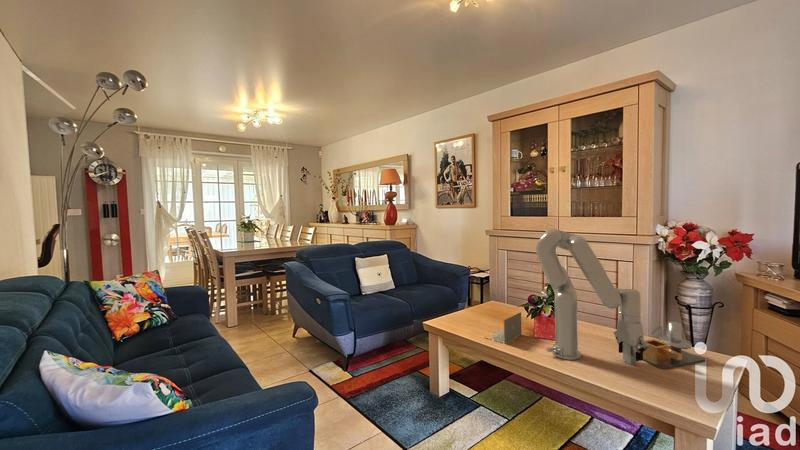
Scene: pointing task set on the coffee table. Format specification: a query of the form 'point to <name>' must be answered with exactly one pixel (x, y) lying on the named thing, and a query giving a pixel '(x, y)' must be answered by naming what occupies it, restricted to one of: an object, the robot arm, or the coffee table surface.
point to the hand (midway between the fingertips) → (630, 356)
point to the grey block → (629, 354)
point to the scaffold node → (670, 350)
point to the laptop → (509, 329)
